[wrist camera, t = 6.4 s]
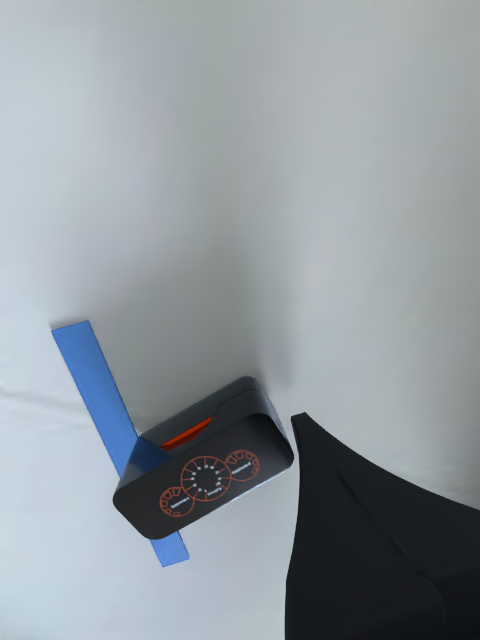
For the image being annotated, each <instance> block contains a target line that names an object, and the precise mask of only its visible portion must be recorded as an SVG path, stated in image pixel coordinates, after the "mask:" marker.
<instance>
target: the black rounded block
mask: <svg viewBox="0 0 480 640" xmlns="http://www.w3.org/2000/svg"><path fill="white" fill-rule="evenodd" d="M293 460H294V454H293V451H292V449H291V446H290V444H289V441H288V439H287V436H286V434H285V432H284V429H283V427H282V424H281V422H280V419H279V417H278V415H277V412H276V410H275V408H274V406H273V404H272V403H271V401H270V400H269V398H268V396H267V395H266V393H265V392H264V390H263V388H262V387H261V385H260V383H259V382H258V381H257V380H256V379H255V378H253V377H250V376H244V377H241V378H239V379H237V380H236V381H234V382H232V383H230V384H229V385H227V386H225V387H223V388H222V389H220V390H218V391H216V392H215V393H213V394H211V395H209V396H208V397H206V398H204V399H202V400H201V401H199V402H197V403H195V404H194V405H192V406H190V407H189V408H187V409H185V410H183V411H182V412H180V413H178V414H176V415H175V416H173V417H171V418H169V419H168V420H166V421H164V422H162V423H161V424H159V425H157V426H155V427H154V428H152V429H150V430H148V431H147V432H145V433H143V434H142V435H141V436H139V438H138V439H137V441H136V442H135V445H134V447H133V449H132V452H131V454H130V457H129V459H128V462H127V464H126V466H125V469H124V471H123V474H122V476H121V478H120V481H119V483H118V486H117V488H116V490H115V493H114V495H113V504H114V506H115V507H116V509H117V510H118V511H119V512H120V513H121V514H122V515H123V516H124V517H125V518H126V519H127V520H128V521H129V522H130V523H131V524H132V525H133V526H134V527H135V528H136V529H137V530H138V531H139V533H140V534H141V535H143V536H144V537H145V538H148V539H151V540H159V539H163V538H165V537H167V536H169V535H171V534H173V533H175V532H176V531H178V530H180V529H182V528H184V527H185V526H187V525H189V524H191V523H192V522H194V521H196V520H198V519H200V518H201V517H203V516H205V515H207V514H209V513H210V512H212V511H214V510H216V509H218V508H219V507H221V506H223V505H225V504H227V503H228V502H230V501H232V500H234V499H236V498H237V497H239V496H241V495H243V494H245V493H246V492H248V491H250V490H252V489H254V488H255V487H257V486H259V485H261V484H263V483H264V482H266V481H268V480H270V479H271V478H273V477H275V476H277V475H279V474H280V473H282V472H284V471H286V470H287V469H288V468H289V467H290V466H291V465H292V463H293Z"/></svg>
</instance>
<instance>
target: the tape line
mask: <svg viewBox="0 0 480 640" xmlns="http://www.w3.org/2000/svg"><path fill="white" fill-rule="evenodd" d="M51 332H52V335H53V337H54V339H55V341H56V343H57V345H58V347H59V349H60V351H61V354H62V356H63V358H64V360H65V362H66V364H67V366H68V368H69V371H70V373H71V375H72V377H73V379H74V381H75V383H76V385H77V387H78V390H79V392H80V394H81V396H82V398H83V400H84V402H85V404H86V406H87V409H88V411H89V413H90V415H91V417H92V419H93V421H94V423H95V426H96V428H97V430H98V432H99V434H100V436H101V438H102V440H103V442H104V445H105V447H106V449H107V451H108V453H109V455H110V457H111V459H112V461H113V464H114V466H115V468H116V470H117V472H118V474H119V476H120V478H121V476H122V474H123V471H124V469H125V466H126V464H127V462H128V459H129V457H130V454H131V452H132V449H133V447H134V445H135V442H136V441H137V439H138V436H137V434H136V431H135V429H134V427H133V424H132V422H131V420H130V417H129V415H128V412H127V410H126V408H125V405H124V403H123V401H122V398H121V396H120V394H119V391H118V389H117V387H116V384H115V382H114V380H113V377H112V375H111V373H110V370H109V368H108V366H107V363H106V361H105V359H104V356H103V354H102V352H101V349H100V347H99V345H98V342H97V340H96V338H95V335H94V333H93V330H92V328H91V326H90V323H89V321H85V322H81V323H77V324H74V325H70V326H66V327H62V328H59V329H55V330H52V331H51ZM149 540H150V542H151V544H152V546H153V548H154V550H155V552H156V555H157V557H158V559H159V561H160V563H161V565H162V567H165V566H168V565H172V564H175V563H178V562H181V561H185V560H188V559H189V555H188V553H187V551H186V548H185V546H184V544H183V541H182V539H181V537H180V534H179V532H178V531H176V532H175V533H173V534H171V535H169V536H167V537H165V538H163V539H159V540H151V539H149Z"/></svg>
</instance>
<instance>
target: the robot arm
mask: <svg viewBox="0 0 480 640" xmlns="http://www.w3.org/2000/svg"><path fill="white" fill-rule="evenodd" d="M291 423H292V427H293V432H294V436H295V440H296V445H297V449H298V453H299V467H300V486H299V504H298V515H297V523H296V530H295V537H294V544H293V550H292V555H291V560H290V564H289V569H288V574H287V579H286V598H285V640H480V510H478V509H475V508H472V507H469V506H466V505H464V504H461V503H458V502H455V501H452V500H450V499H447V498H445V497H442V496H440V495H438V494H435V493H433V492H430V491H428V490H425V489H423V488H421V487H419V486H417V485H415V484H412V483H410V482H408V481H406V480H404V479H402V478H400V477H398V476H396V475H394V474H392V473H390V472H388V471H386V470H384V469H382V468H381V467H379V466H377V465H376V464H374V463H372V462H370V461H369V460H367V459H365V458H364V457H362V456H361V455H359V454H358V453H356V452H355V451H353V450H352V449H350V448H349V447H347V446H346V445H344V444H343V443H342V442H340V441H339V440H338V439H336V438H335V437H334V436H332V435H331V434H330V433H328V432H327V431H326V430H325V429H323V428H322V427H321V426H320V425H319V424H318V423H316V422H315V421H314V420H313V419H312V418H311V417H310V416H309V415H308V414H307V413H306V412H304V413H301V414H297V415H294V416H291Z"/></svg>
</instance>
